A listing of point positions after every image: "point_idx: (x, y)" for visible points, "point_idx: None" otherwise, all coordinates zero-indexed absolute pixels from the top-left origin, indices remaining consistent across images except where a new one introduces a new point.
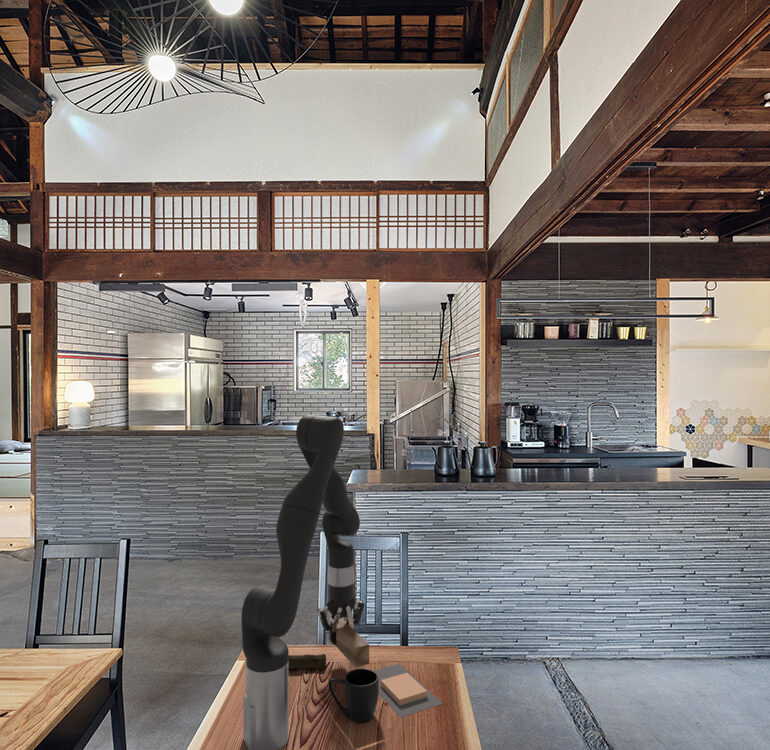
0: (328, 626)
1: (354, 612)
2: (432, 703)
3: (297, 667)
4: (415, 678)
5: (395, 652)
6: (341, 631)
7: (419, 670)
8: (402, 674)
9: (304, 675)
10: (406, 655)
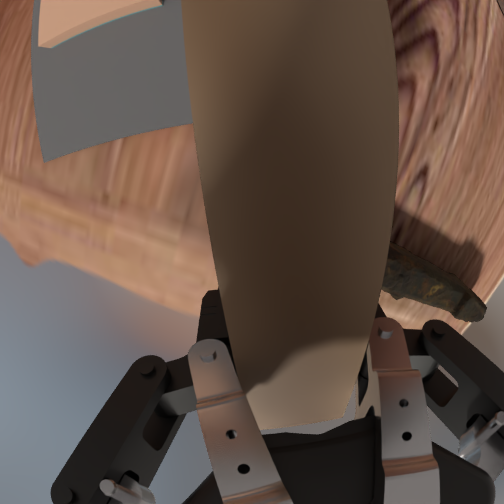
0: (443, 346)
1: (162, 454)
2: None
3: (420, 258)
4: (31, 49)
5: (50, 250)
6: (366, 273)
7: (7, 111)
8: (57, 33)
9: (411, 217)
10: (23, 220)
